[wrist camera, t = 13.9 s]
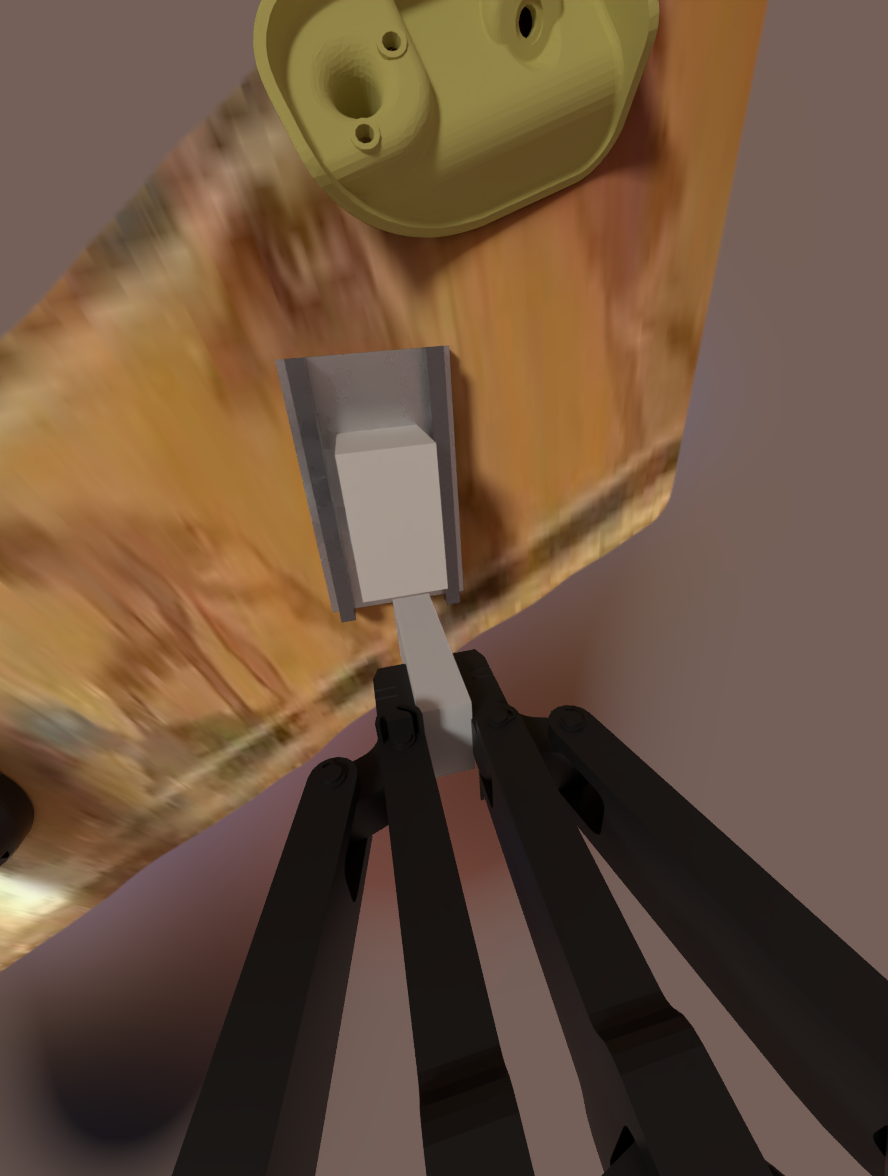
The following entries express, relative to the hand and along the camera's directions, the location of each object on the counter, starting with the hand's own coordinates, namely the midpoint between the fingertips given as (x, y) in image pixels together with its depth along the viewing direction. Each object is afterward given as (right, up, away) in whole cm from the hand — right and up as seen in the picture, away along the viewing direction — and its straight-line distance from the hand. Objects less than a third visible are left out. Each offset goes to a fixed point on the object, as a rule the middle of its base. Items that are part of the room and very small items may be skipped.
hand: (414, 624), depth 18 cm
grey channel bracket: (-4, +10, +18) cm, 21 cm away
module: (-3, +9, +17) cm, 20 cm away
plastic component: (+1, +31, +8) cm, 32 cm away
